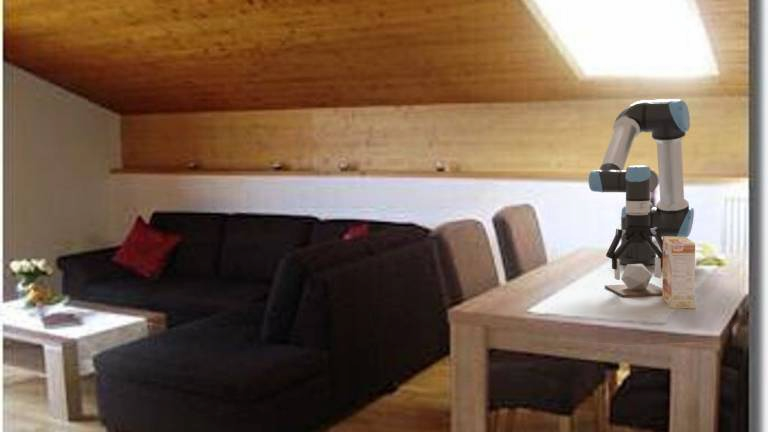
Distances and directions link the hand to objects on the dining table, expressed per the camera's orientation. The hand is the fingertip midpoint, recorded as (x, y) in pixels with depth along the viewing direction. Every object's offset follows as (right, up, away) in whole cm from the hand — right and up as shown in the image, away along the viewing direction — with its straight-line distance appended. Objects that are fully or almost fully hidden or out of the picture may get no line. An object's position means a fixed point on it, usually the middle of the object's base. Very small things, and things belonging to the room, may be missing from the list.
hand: (637, 278), depth 263 cm
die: (0, -4, 0) cm, 4 cm away
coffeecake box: (+7, -6, -18) cm, 20 cm away
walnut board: (0, -4, 0) cm, 4 cm away
